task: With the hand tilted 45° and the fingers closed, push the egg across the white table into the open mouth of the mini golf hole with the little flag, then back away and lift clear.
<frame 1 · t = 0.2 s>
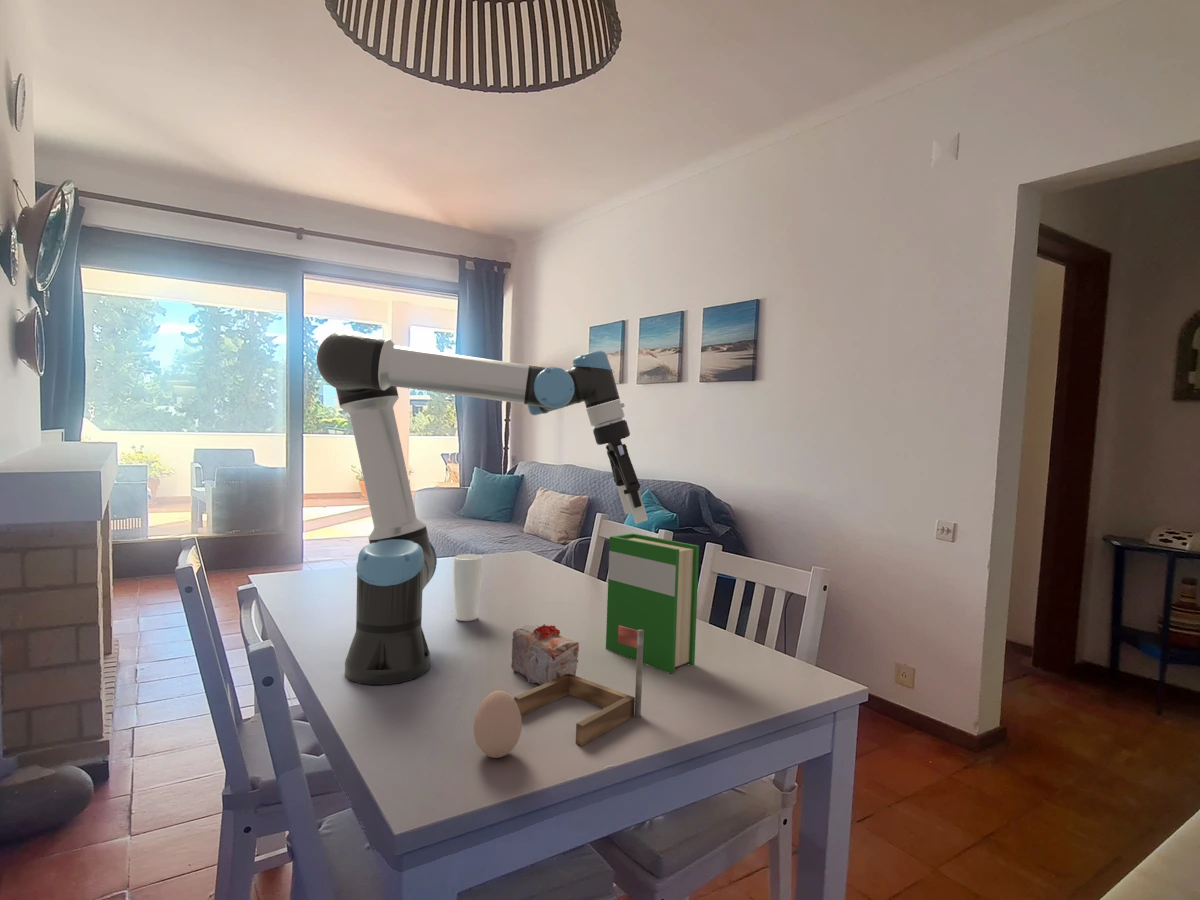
hand: (636, 517, 134), 28 cm above the table, tool tilted 20°, fingers open, 13 cm apart
food item: (543, 679, 114), on the table
mini golf hole: (571, 716, 99), on the table
egg: (496, 756, 87), on the table
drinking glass: (466, 619, 148), on the table
hardback book: (648, 657, 127), on the table
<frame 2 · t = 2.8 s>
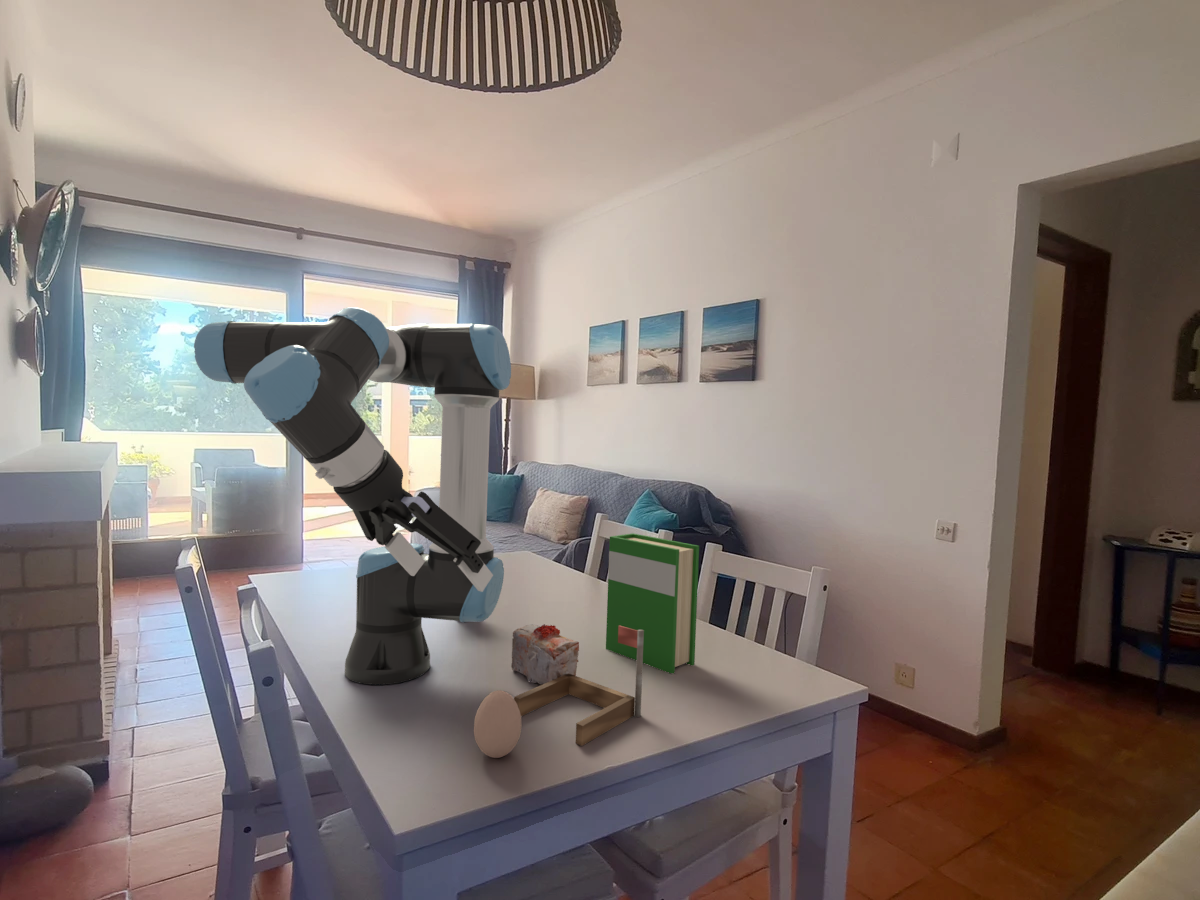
hand: (450, 575, 85), 25 cm above the table, tool tilted 45°, fingers open, 13 cm apart
nothing on the table moved.
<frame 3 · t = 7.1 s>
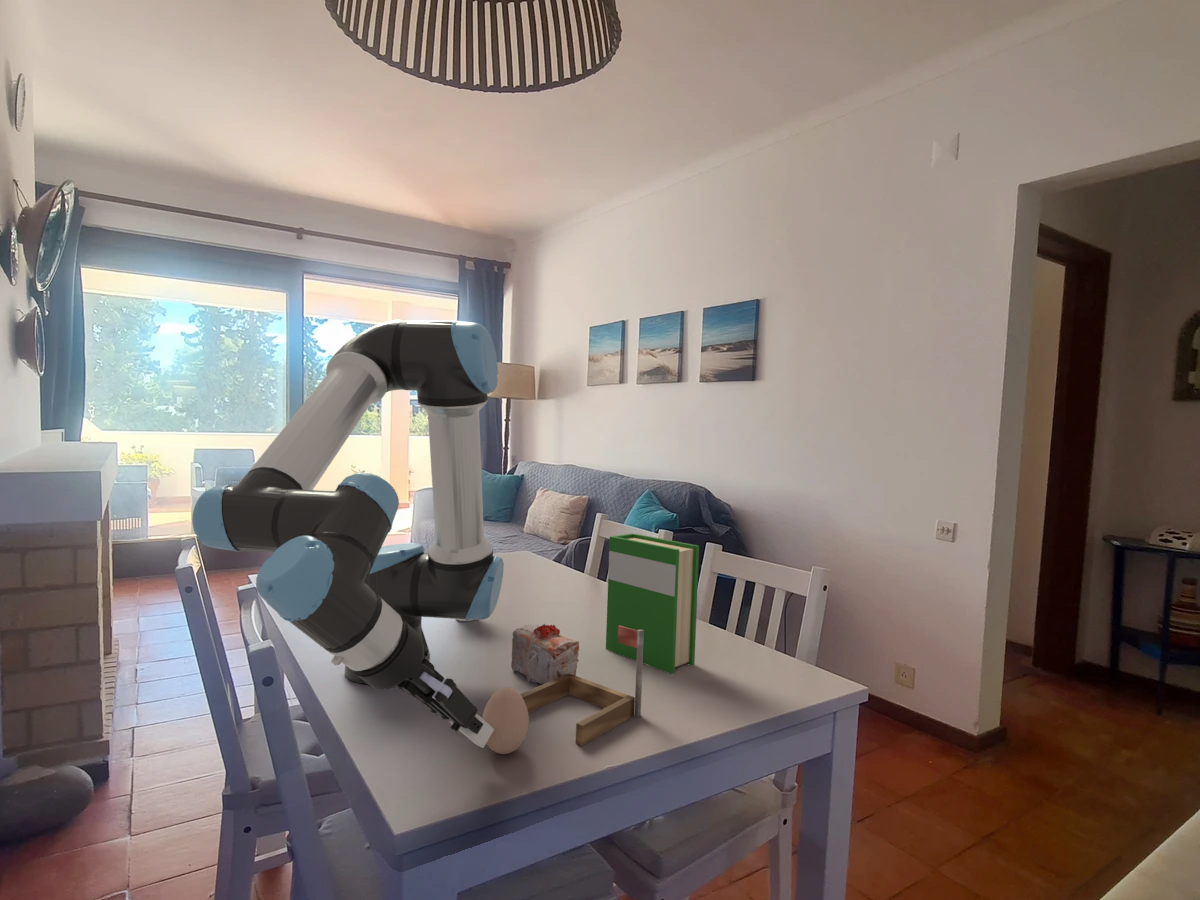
hand: (485, 736, 84), 4 cm above the table, tool tilted 45°, fingers closed
egg: (504, 753, 88), on the table, touching gripper
everything else where it was.
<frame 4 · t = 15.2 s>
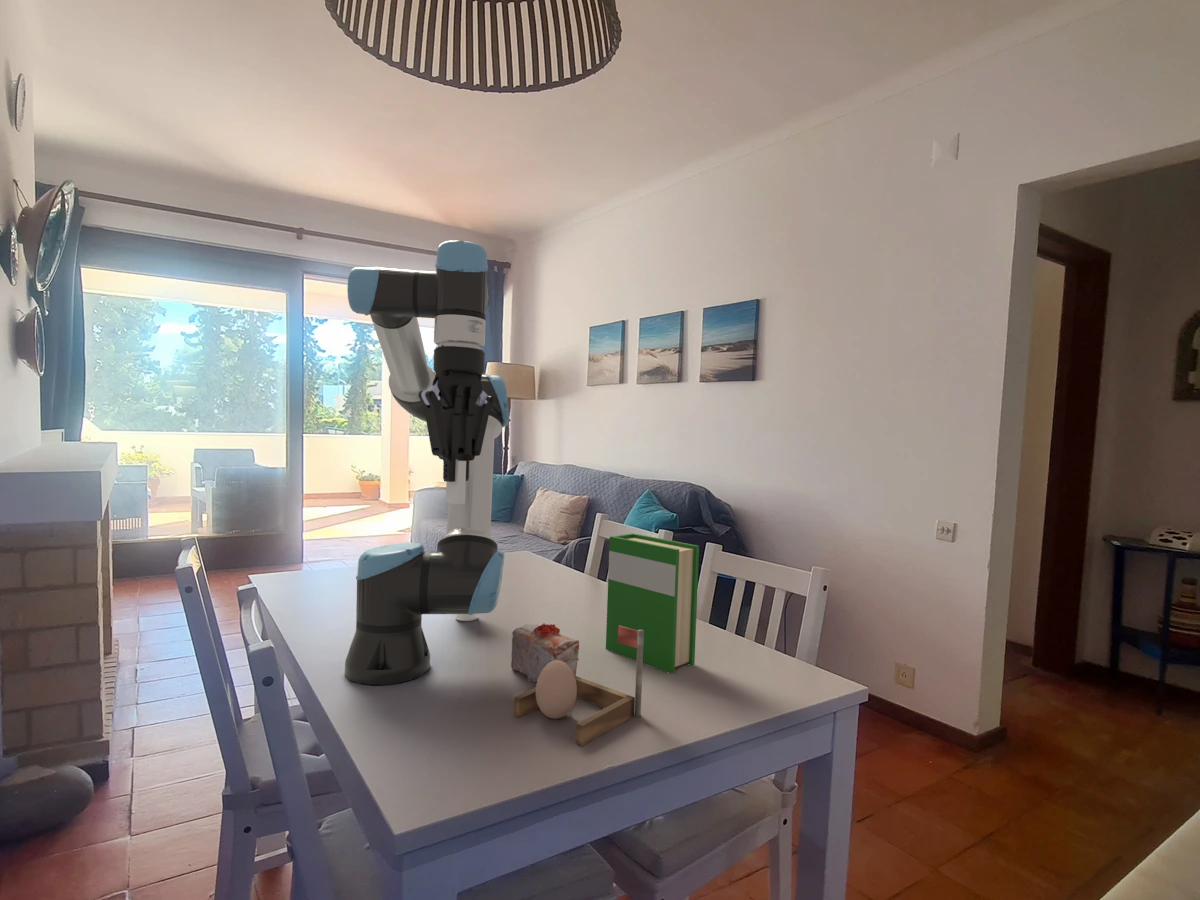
hand: (455, 502, 94), 34 cm above the table, tool pointing down, fingers closed
egg: (555, 718, 99), on the table
everything else where it was.
at the end: egg 2.6 cm from the mini golf hole (horizontally); egg on the table; the gripper is holding nothing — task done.
